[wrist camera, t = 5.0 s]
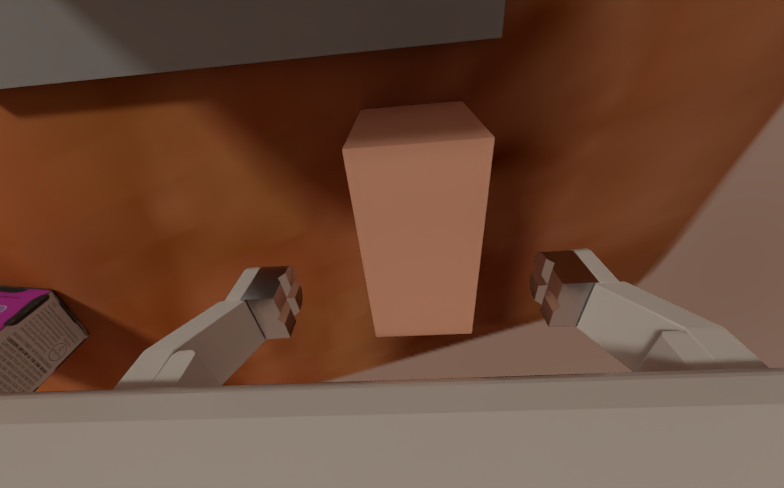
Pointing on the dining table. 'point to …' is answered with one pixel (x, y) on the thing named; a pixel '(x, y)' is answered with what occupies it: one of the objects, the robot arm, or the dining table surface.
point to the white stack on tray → (217, 33)
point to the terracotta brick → (420, 213)
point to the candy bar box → (34, 337)
